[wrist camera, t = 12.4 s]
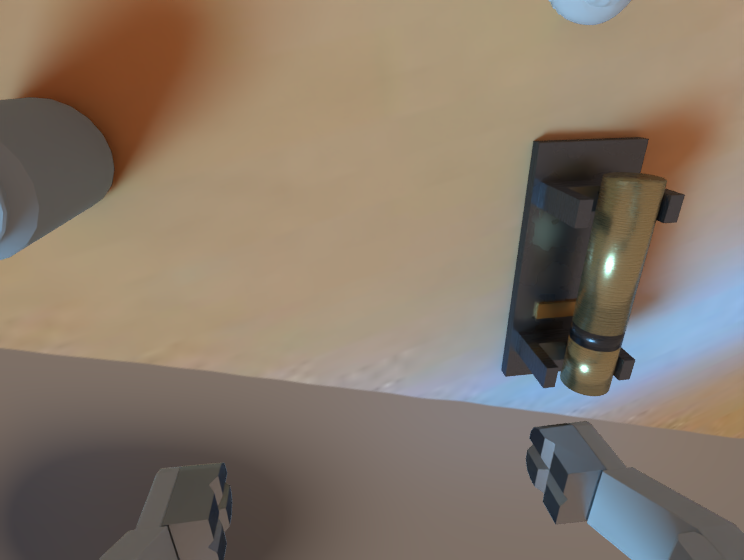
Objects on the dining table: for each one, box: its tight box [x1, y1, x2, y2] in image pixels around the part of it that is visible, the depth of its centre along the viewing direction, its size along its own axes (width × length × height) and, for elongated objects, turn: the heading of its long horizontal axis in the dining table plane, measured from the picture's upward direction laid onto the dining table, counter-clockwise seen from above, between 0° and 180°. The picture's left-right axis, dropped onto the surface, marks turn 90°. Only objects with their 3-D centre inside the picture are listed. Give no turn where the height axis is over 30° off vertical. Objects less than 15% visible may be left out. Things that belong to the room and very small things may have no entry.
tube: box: [560, 172, 667, 396], centre depth 35 cm, size 18×4×4 cm, turn 1°
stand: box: [502, 137, 685, 388], centre depth 36 cm, size 22×9×6 cm, turn 1°
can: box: [0, 97, 114, 260], centre depth 25 cm, size 8×8×12 cm
